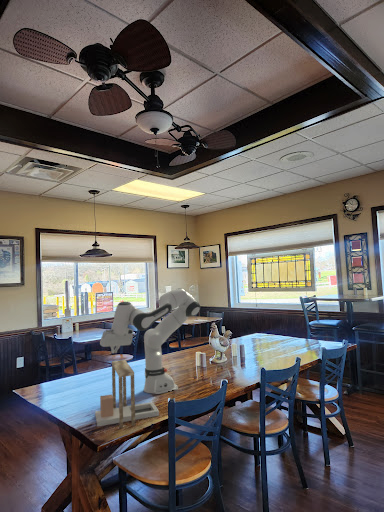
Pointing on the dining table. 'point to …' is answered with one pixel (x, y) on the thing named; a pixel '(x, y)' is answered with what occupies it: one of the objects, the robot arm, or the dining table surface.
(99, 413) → the tray
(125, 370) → the arch
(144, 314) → the robot arm
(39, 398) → the dining table surface
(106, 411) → the block
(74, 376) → the dining table surface
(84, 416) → the dining table surface
